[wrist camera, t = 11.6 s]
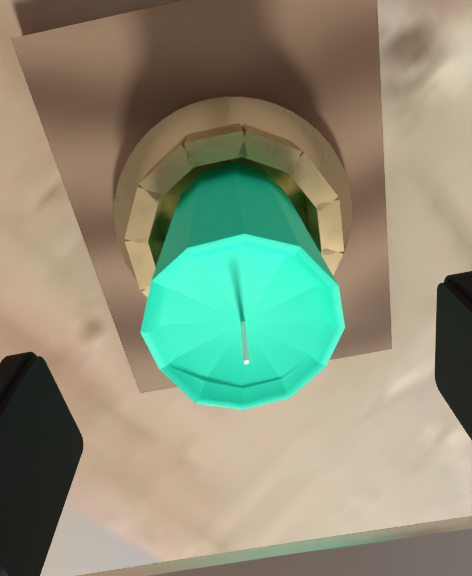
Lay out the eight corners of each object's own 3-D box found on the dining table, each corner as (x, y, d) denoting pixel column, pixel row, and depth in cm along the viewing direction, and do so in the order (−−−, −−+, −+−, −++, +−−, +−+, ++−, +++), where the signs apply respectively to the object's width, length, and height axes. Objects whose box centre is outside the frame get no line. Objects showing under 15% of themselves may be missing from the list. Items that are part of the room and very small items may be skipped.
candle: (256, 137, 21) (297, 207, 10) (312, 242, 23) (395, 391, 12) (150, 202, 22) (81, 328, 11) (213, 295, 24) (209, 476, 13)
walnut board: (24, 40, 21) (10, 38, 19) (364, -36, 20) (375, -44, 18) (143, 378, 29) (140, 393, 28) (383, 335, 28) (391, 348, 27)
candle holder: (85, 124, 21) (57, 134, 17) (336, 71, 20) (361, 70, 17) (153, 335, 26) (142, 376, 23) (355, 298, 26) (376, 334, 22)
